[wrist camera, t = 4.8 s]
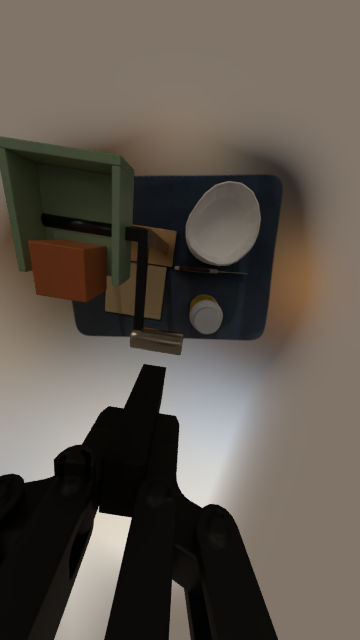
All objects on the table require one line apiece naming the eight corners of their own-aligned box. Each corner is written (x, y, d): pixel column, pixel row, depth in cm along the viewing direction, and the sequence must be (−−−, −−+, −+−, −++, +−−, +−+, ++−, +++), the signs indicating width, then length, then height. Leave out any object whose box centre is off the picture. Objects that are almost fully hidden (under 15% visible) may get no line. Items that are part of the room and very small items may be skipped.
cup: (184, 262, 36) (182, 263, 27) (189, 200, 33) (189, 177, 24) (236, 267, 36) (253, 269, 26) (246, 205, 33) (269, 182, 24)
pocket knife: (174, 270, 36) (174, 270, 35) (175, 265, 36) (174, 265, 34) (248, 276, 36) (251, 277, 34) (249, 271, 36) (252, 272, 34)
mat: (107, 258, 36) (107, 258, 36) (166, 267, 36) (166, 267, 36) (105, 310, 39) (105, 311, 39) (160, 319, 39) (160, 319, 39)
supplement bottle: (223, 307, 38) (233, 322, 29) (203, 326, 39) (207, 345, 30) (203, 287, 37) (208, 296, 28) (183, 307, 38) (181, 322, 29)
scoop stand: (172, 267, 36) (157, 271, 19) (102, 256, 36) (26, 251, 19) (176, 232, 34) (164, 203, 18) (103, 220, 35) (21, 181, 18)
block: (106, 246, 17) (107, 289, 19) (62, 239, 17) (66, 283, 19) (83, 249, 14) (86, 302, 15) (27, 240, 14) (36, 294, 15)
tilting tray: (182, 336, 24) (179, 364, 19) (52, 316, 24) (14, 338, 19) (207, 187, 17) (212, 168, 12) (31, 160, 17) (-34, 130, 12)
